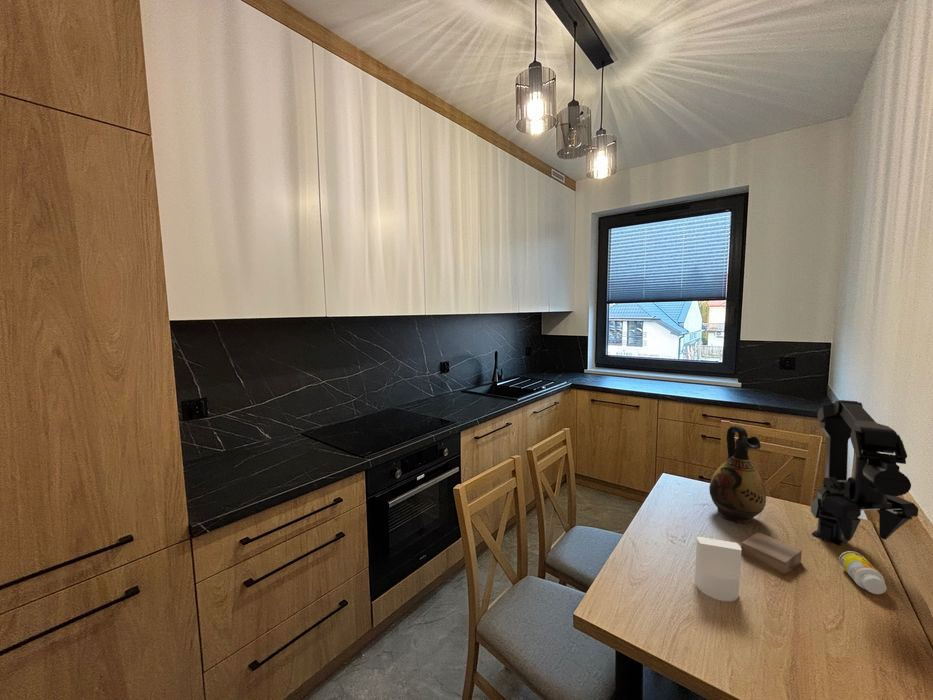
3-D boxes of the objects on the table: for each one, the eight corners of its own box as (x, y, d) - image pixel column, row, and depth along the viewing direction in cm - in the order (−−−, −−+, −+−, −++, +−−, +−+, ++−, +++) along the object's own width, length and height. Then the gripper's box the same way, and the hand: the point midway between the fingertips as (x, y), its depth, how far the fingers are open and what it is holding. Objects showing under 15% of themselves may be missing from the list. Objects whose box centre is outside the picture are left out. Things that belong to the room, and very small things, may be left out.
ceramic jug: (777, 528, 118) (784, 435, 115) (727, 528, 118) (733, 436, 115) (739, 501, 135) (744, 420, 132) (695, 501, 135) (700, 420, 132)
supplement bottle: (871, 565, 97) (898, 592, 88) (848, 573, 99) (871, 601, 90) (855, 546, 98) (879, 571, 88) (832, 555, 100) (854, 580, 91)
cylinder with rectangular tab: (731, 581, 95) (734, 536, 94) (744, 607, 87) (747, 558, 86) (690, 573, 98) (693, 529, 97) (699, 598, 90) (702, 550, 88)
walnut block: (757, 544, 110) (758, 532, 110) (800, 564, 102) (801, 550, 101) (740, 556, 105) (741, 542, 105) (784, 577, 97) (785, 562, 96)
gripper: (870, 464, 99) (865, 520, 101) (803, 465, 99) (798, 522, 100) (923, 482, 88) (916, 545, 90) (847, 485, 88) (841, 548, 89)
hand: (865, 539), depth 92 cm, fingers open, 9 cm apart
